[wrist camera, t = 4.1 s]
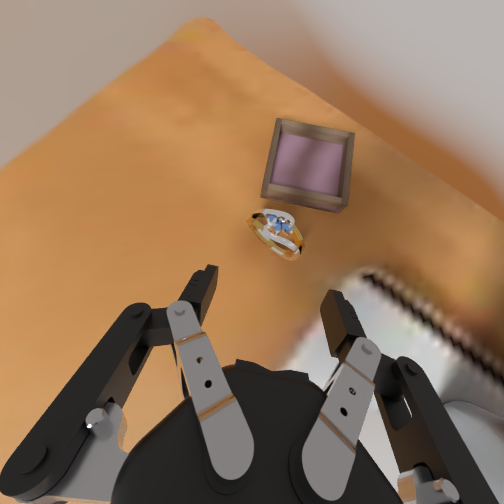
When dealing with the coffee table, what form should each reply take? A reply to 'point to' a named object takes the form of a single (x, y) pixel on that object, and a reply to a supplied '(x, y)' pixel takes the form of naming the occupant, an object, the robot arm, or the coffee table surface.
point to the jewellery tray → (309, 166)
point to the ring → (277, 232)
